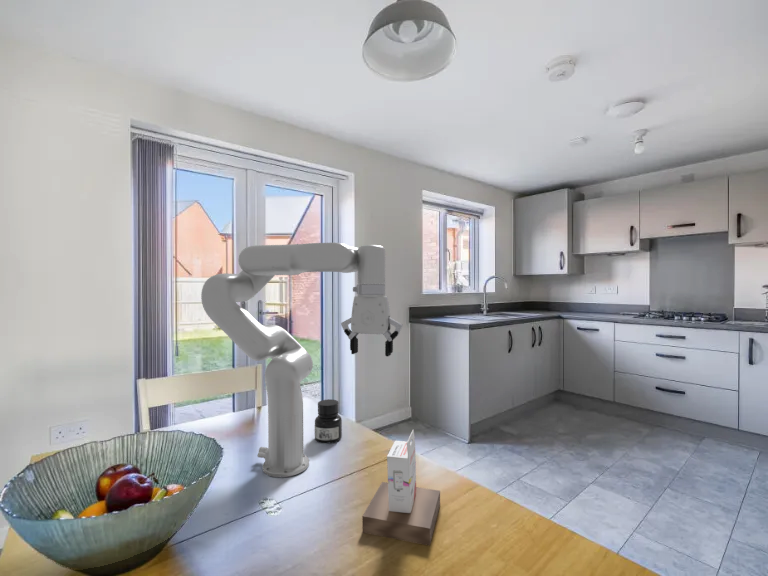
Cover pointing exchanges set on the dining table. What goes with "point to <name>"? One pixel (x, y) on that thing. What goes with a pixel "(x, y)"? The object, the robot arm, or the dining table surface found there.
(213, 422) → the dining table surface
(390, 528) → the walnut block
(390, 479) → the ink cartridge box
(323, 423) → the ink bottle
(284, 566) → the dining table surface
